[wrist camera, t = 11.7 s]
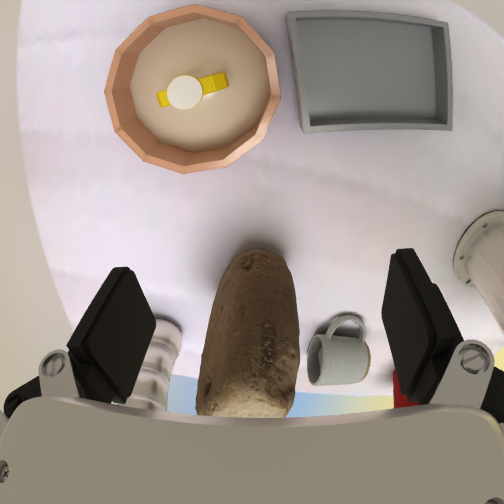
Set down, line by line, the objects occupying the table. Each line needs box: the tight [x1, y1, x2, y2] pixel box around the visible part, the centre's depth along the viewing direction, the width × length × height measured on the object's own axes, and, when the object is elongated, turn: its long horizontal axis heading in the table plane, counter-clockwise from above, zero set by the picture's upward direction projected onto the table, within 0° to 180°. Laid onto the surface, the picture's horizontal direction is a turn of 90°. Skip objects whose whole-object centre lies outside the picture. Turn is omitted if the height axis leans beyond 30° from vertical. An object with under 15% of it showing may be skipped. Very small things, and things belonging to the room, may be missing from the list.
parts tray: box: [285, 10, 453, 133], centre depth 22 cm, size 15×11×3 cm
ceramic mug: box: [307, 315, 371, 386], centre depth 42 cm, size 11×8×8 cm
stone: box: [195, 249, 300, 418], centre depth 30 cm, size 12×7×20 cm, turn 155°
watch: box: [156, 72, 230, 110], centre depth 22 cm, size 6×3×6 cm, turn 103°
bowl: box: [104, 4, 281, 174], centre depth 23 cm, size 14×14×5 cm
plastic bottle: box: [117, 319, 182, 412], centre depth 37 cm, size 6×7×20 cm
